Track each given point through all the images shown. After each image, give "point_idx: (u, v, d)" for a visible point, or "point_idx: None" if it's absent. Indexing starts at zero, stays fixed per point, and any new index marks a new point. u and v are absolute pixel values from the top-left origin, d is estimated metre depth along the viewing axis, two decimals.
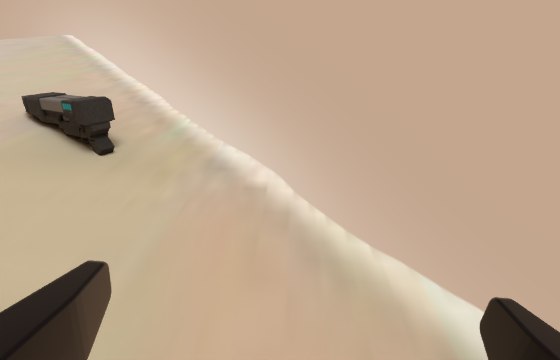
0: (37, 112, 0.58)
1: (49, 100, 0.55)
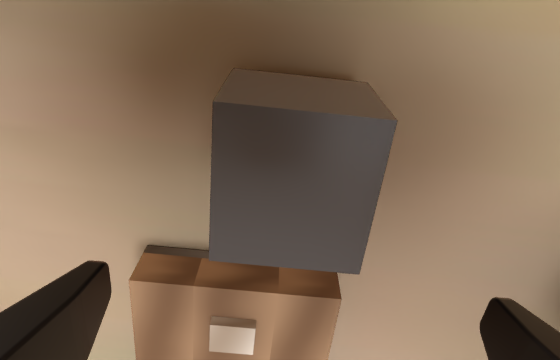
0: None
1: None
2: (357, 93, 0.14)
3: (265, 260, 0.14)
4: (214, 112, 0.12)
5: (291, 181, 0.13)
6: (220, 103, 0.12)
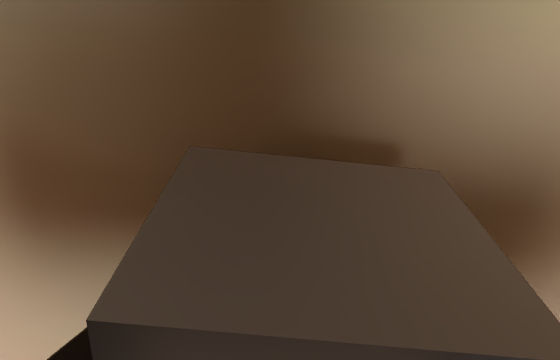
0: None
1: None
2: (437, 218, 0.07)
3: None
4: (95, 343, 0.04)
5: None
6: (108, 324, 0.04)
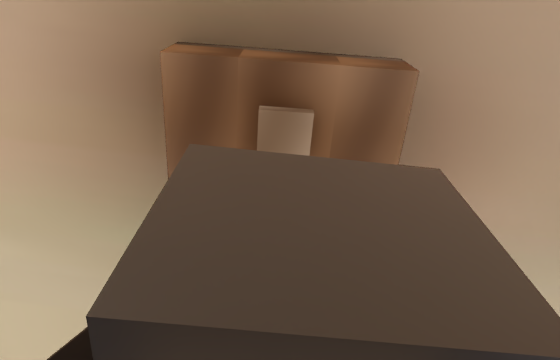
0: None
1: None
2: (438, 215, 0.07)
3: None
4: (95, 340, 0.04)
5: None
6: (108, 320, 0.04)
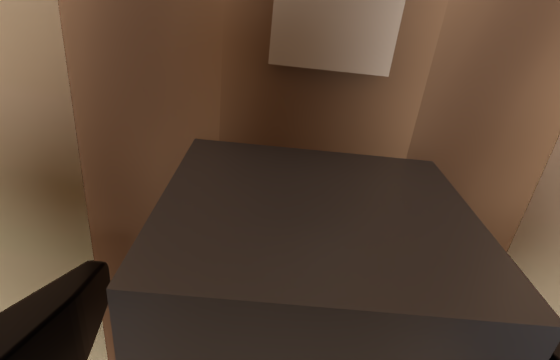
0: None
1: None
2: (430, 203, 0.07)
3: None
4: (113, 311, 0.05)
5: None
6: (126, 292, 0.05)
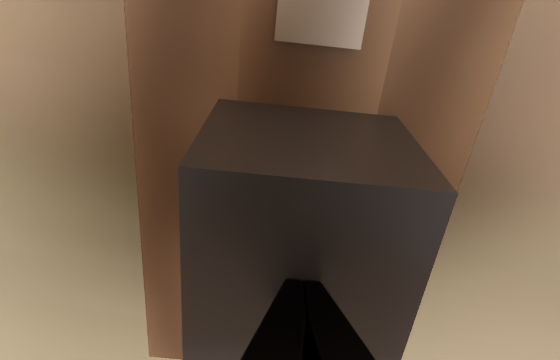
0: None
1: None
2: (388, 138, 0.10)
3: None
4: (181, 182, 0.08)
5: (297, 274, 0.09)
6: (189, 169, 0.08)
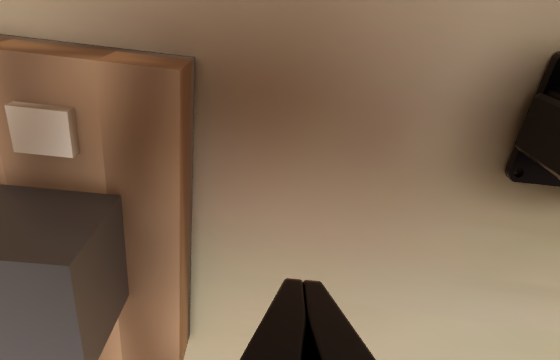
0: None
1: None
2: (83, 218, 0.16)
3: None
4: None
5: None
6: None
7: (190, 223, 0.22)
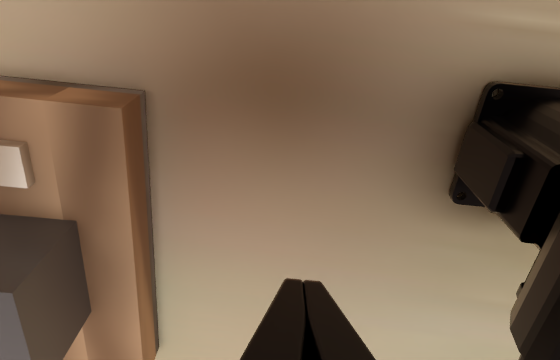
0: None
1: None
2: (36, 245, 0.17)
3: None
4: None
5: None
6: None
7: (151, 243, 0.23)
